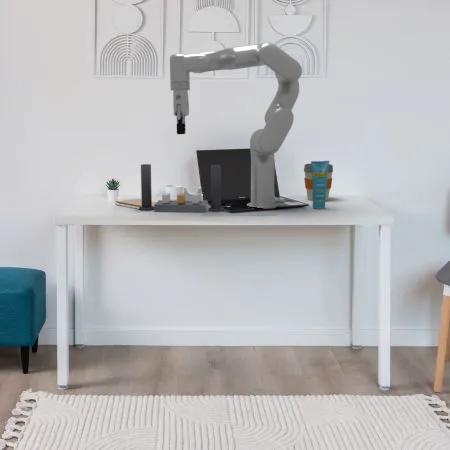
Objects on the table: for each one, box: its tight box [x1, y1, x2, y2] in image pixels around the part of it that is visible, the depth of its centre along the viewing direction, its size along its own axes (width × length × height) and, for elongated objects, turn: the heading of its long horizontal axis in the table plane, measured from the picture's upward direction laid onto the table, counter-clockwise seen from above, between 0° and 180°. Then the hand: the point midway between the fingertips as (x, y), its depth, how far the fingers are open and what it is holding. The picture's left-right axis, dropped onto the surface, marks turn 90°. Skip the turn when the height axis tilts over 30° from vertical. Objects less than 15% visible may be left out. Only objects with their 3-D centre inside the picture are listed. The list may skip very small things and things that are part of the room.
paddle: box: [192, 194, 200, 204], centre depth 307 cm, size 2×5×3 cm, turn 175°
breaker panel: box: [153, 199, 209, 213], centre depth 308 cm, size 20×10×3 cm, turn 85°
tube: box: [310, 160, 330, 210], centre depth 310 cm, size 7×5×19 cm, turn 104°
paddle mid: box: [176, 192, 185, 203], centre depth 307 cm, size 2×5×3 cm, turn 175°
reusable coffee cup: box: [303, 163, 334, 202], centre depth 333 cm, size 13×13×15 cm
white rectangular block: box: [161, 192, 171, 203], centre depth 308 cm, size 2×5×3 cm, turn 174°
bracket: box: [183, 186, 204, 201], centre depth 325 cm, size 13×7×8 cm, turn 176°
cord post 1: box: [138, 163, 154, 212], centre depth 308 cm, size 6×6×18 cm
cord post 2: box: [208, 164, 225, 213], centre depth 305 cm, size 6×6×18 cm
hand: (181, 133), depth 303 cm, fingers closed
